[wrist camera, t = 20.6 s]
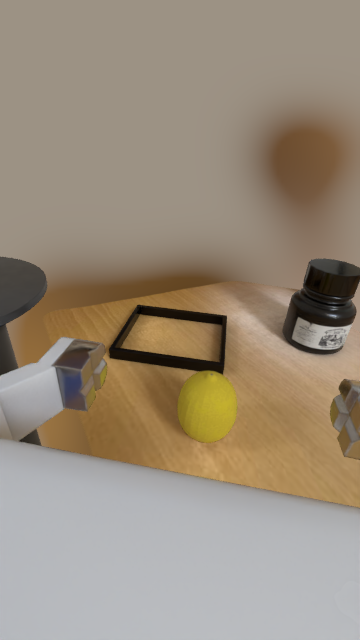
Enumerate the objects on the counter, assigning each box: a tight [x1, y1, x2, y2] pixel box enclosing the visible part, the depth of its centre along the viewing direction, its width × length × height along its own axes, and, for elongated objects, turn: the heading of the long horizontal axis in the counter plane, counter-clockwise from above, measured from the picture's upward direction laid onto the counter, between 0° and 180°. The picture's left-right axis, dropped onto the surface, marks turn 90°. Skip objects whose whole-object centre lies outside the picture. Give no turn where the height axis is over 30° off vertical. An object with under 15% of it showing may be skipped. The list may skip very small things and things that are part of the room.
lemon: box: [177, 371, 237, 443], centre depth 27 cm, size 6×6×8 cm
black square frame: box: [109, 305, 227, 375], centre depth 43 cm, size 15×13×2 cm
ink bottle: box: [283, 259, 360, 354], centre depth 43 cm, size 10×9×12 cm
